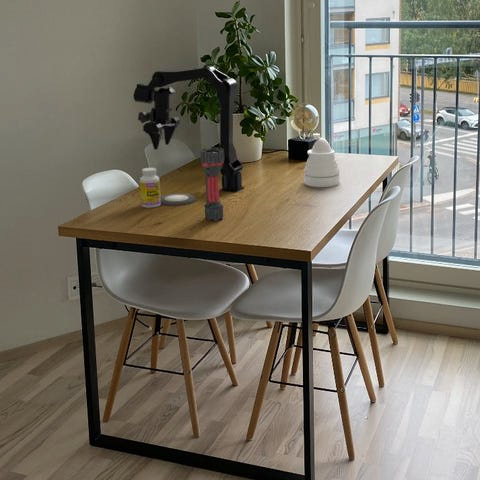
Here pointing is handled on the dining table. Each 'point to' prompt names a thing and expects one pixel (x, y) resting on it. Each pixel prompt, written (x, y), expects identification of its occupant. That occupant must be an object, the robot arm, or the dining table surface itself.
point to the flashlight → (212, 181)
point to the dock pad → (177, 199)
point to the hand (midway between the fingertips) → (161, 147)
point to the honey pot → (321, 165)
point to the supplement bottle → (150, 188)
